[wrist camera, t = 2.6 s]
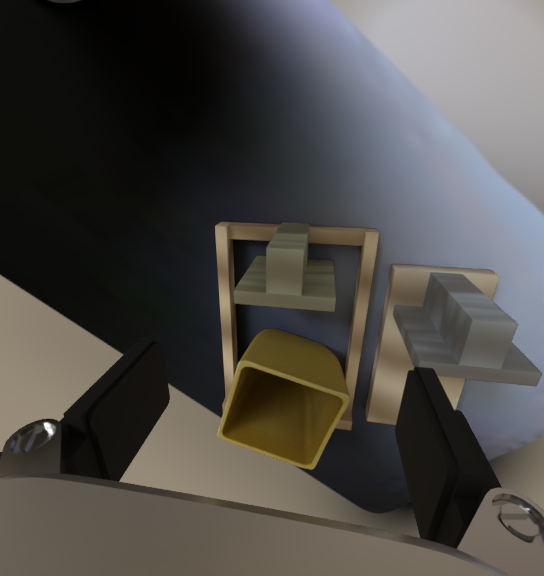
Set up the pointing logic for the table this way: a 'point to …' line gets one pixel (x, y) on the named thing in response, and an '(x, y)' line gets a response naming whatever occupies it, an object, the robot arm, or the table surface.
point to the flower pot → (285, 398)
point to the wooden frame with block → (292, 283)
